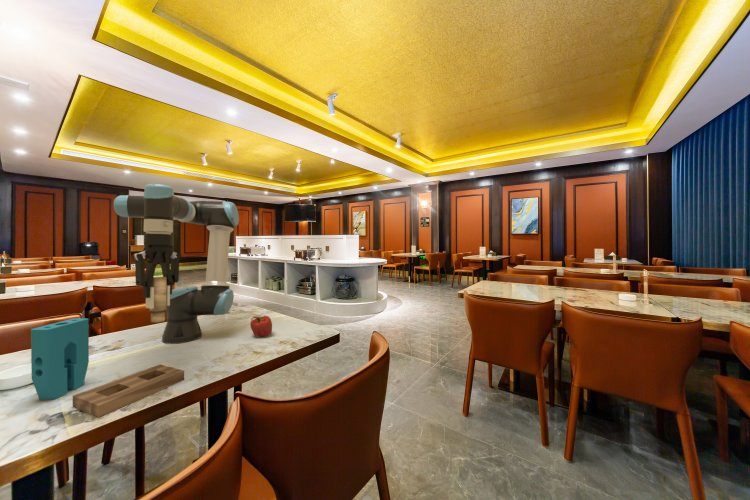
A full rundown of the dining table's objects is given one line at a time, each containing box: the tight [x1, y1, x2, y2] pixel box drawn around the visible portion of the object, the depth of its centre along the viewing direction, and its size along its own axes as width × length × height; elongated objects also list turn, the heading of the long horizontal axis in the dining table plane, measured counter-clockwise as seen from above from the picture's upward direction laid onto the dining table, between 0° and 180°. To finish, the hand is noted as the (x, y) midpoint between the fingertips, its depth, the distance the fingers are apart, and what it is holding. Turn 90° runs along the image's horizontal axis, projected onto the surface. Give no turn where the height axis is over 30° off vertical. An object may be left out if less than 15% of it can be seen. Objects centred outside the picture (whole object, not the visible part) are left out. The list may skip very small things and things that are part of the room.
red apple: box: [249, 315, 273, 338], centre depth 138 cm, size 11×10×10 cm
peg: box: [149, 276, 167, 323], centre depth 93 cm, size 4×4×14 cm
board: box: [72, 363, 185, 418], centre depth 86 cm, size 12×22×3 cm, turn 158°
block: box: [30, 317, 90, 401], centre depth 85 cm, size 12×5×20 cm, turn 1°
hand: (158, 306), depth 93 cm, fingers closed on peg, 4 cm apart
